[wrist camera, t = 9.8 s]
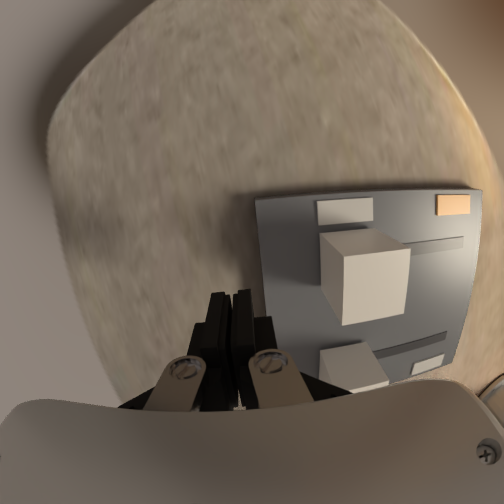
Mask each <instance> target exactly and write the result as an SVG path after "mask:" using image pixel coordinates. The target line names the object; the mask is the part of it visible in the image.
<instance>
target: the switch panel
mask: <svg viewBox="0 0 504 504" xmlns="http://www.w3.org/2000/svg"><path fill="white" fill-rule="evenodd" d="M254 200H255V209H256V219H257V228H258V238H259V248H260V257H261V267H262V277H263V287H264V297H265V307H266V316H272V321H273V326H274V331H275V337H276V342H277V347H278V349H279V350H283V351H285V352H287V353H289V354H290V356H291V357H292V358H293V360H294V362H295V364H296V366H297V368H298V370H299V371H300V372H302V373H305V374H307V375H309V376H312V377H314V378H317V379H319V366H320V350H325V349H331V348H336V347H342V346H347V345H353V344H358V343H363V342H367V344H368V346H369V347H370V349H371V350H372V352H373V354H374V355H375V357H376V359H377V360H378V362H379V364H380V365H381V367H382V369H383V370H384V372H385V374H386V375H387V377H388V379H389V384H391V383H394V382H397V381H401V380H404V379H407V378H410V377H413V376H417V375H420V374H422V373H425V372H428V371H431V370H434V369H437V368H439V367H442V366H444V365H447V364H450V363H452V361H453V358H454V355H455V352H456V349H457V346H458V343H459V339H460V336H461V333H462V329H463V326H464V322H465V318H466V314H467V310H468V306H469V302H470V297H471V292H472V288H473V282H474V277H475V271H476V265H477V258H478V250H479V241H480V231H481V217H482V190H479V189H474V188H392V189H367V190H347V191H331V192H317V193H304V194H292V195H280V196H270V197H260V198H254ZM369 228H375V229H377V230H378V231H380V232H382V233H384V234H386V235H388V236H390V237H391V238H393V239H395V240H397V241H399V242H400V243H402V244H404V245H406V246H407V247H409V248H411V252H410V265H409V276H408V285H407V294H406V301H405V308H404V314H399V315H395V316H390V317H385V318H380V319H375V320H370V321H365V322H360V323H354V324H349V325H343V326H342V325H341V323H340V321H339V319H338V318H337V316H336V314H335V312H334V310H333V309H332V307H331V305H330V303H329V302H328V300H327V298H326V296H325V295H324V293H323V291H322V289H321V260H320V233H327V232H337V231H348V230H358V229H369Z"/></svg>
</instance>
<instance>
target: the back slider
mask: <svg viewBox="0 0 504 504" xmlns="http://www.w3.org/2000/svg"><path fill="white" fill-rule="evenodd" d="M319 380H322V381H324V382H327V383H329V384H332V385H334V386H337V387H340V388H342V389H345V390H348V391H350V392H352V393H358V392H362V391H367V390H371V389H375V388H379V387H384V386H387V385H388V384H389V379H388V377H387V375H386V374H385V372H384V370H383V369H382V367H381V365H380V364H379V362H378V360H377V359H376V357H375V355H374V354H373V352H372V350H371V349H370V347H369V346H368V344H367V342H363V343H358V344H353V345H347V346H342V347H336V348H331V349H325V350H320V366H319Z"/></svg>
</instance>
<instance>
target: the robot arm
mask: <svg viewBox="0 0 504 504" xmlns="http://www.w3.org/2000/svg"><path fill="white" fill-rule="evenodd" d="M238 389H239V394H240V398H241V403H242V407H244V406H246V410H236V411H233V407H238ZM0 504H504V375H502V376H501V377H499V378H498V379H497V380H496V381H494V382H493V383H492V384H491V385H490V386H489V387H488V388H487V389H486V390H485V391H484V392H483V393H482V394H481V395H480V397H479V398H478V397H477V396H476V395H475V394H474V393H473V392H472V391H471V390H470V389H468V388H467V387H466V386H464V385H463V384H461V383H459V382H456V381H453V380H448V379H420V380H413V381H406V382H401V383H396V384H391V385H387V386H384V387H379V388H375V389H371V390H367V391H362V392H358V393H352V392H350V391H348V390H345V389H342V388H340V387H337V386H334V385H332V384H329V383H327V382H324V381H322V380H319V379H317V378H314V377H312V376H309V375H307V374H305V373H302V372H300V371H299V370H298V368H297V366H296V364H295V362H294V360H293V358H292V357H291V356H290V354H289V353H287V352H285V351H283V350H279V349H278V347H277V342H276V337H275V331H274V326H273V321H272V316H266V317H257V318H254V313H253V305H252V297H251V289H245V290H238V294H233V307H232V305H231V299H230V295H225V292H216V293H212V294H211V298H210V302H209V307H208V312H207V316H206V321H205V322H203V323H195V326H194V330H193V333H192V337H191V341H190V345H189V348H188V352H187V356H182V357H178V358H176V359H174V360H172V361H171V362H170V363H169V364H168V365H167V366H166V368H165V369H164V371H163V373H162V375H161V377H160V379H159V380H158V382H157V384H156V386H155V387H153V388H152V389H150V390H148V391H146V392H144V393H143V394H141V395H139V396H137V397H135V398H133V399H132V400H130V401H128V402H126V403H124V404H122V405H120V406H119V407H118V408H113V407H105V406H98V405H91V404H84V403H77V402H70V401H64V400H52V399H39V400H31V401H27V402H24V403H21V404H19V405H17V406H16V407H15V408H14V409H13V410H12V411H11V412H10V413H9V414H8V415H7V417H6V418H5V419H4V421H3V422H2V423H1V425H0Z"/></svg>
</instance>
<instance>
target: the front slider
mask: <svg viewBox="0 0 504 504" xmlns="http://www.w3.org/2000/svg"><path fill="white" fill-rule="evenodd" d="M410 252H411V248H409V247H407V246H406V245H404V244H402V243H400V242H399V241H397V240H395V239H393V238H391V237H390V236H388V235H386V234H384V233H382V232H380V231H378V230H377V229H375V228H369V229H358V230H348V231H337V232H327V233H320V260H321V289H322V291H323V293H324V295H325V296H326V298H327V300H328V302H329V303H330V305H331V307H332V309H333V310H334V312H335V314H336V316H337V318H338V319H339V321H340V323H341V325H342V326H343V325H349V324H354V323H360V322H365V321H370V320H375V319H380V318H385V317H390V316H395V315H399V314H404V308H405V301H406V294H407V285H408V276H409V265H410Z"/></svg>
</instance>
